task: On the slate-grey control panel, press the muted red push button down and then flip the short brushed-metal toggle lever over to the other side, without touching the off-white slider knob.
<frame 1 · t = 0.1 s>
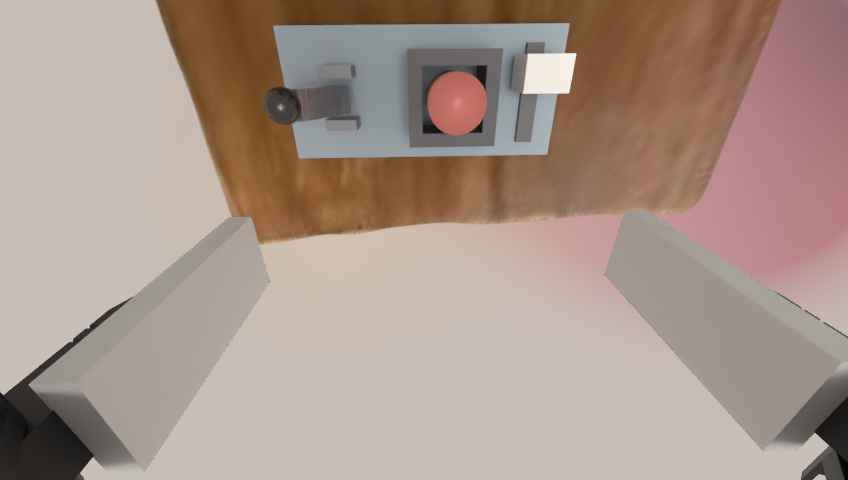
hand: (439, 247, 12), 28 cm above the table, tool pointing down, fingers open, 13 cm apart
lever: (308, 102, 28), point 8 cm above the table, hinge at -30.0°
slider: (540, 73, 29), point 6 cm above the table, slide at 0.0 cm
panel: (422, 93, 35), on the table
button: (453, 101, 28), point 8 cm above the table, slide at 0.0 cm
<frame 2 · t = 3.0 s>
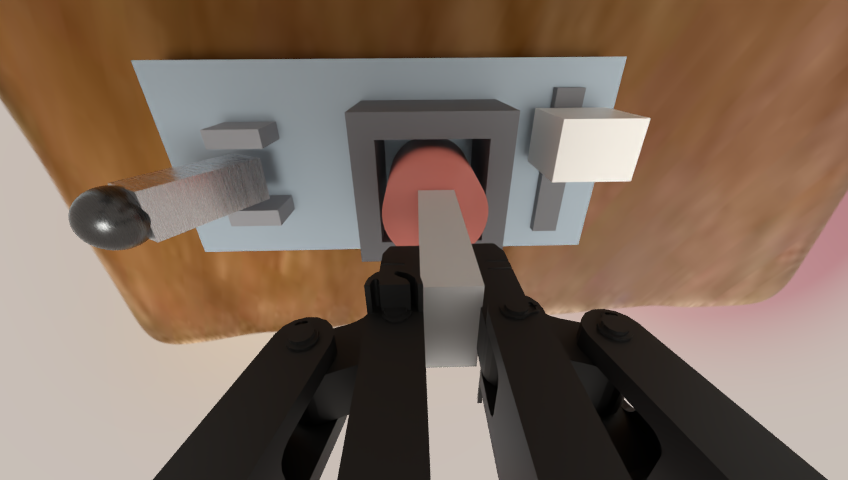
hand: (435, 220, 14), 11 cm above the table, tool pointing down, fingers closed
lever: (179, 198, 16), point 8 cm above the table, hinge at -30.0°
slider: (580, 142, 17), point 6 cm above the table, slide at 0.0 cm
panel: (391, 154, 23), on the table
button: (432, 192, 16), point 8 cm above the table, slide at 0.5 cm, touching gripper
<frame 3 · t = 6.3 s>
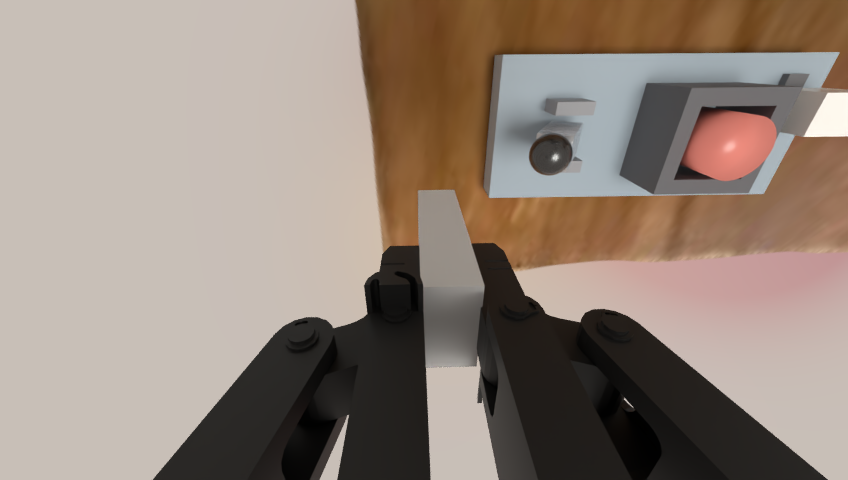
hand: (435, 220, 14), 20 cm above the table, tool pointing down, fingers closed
lever: (556, 146, 24), point 8 cm above the table, hinge at -30.0°
slider: (812, 111, 25), point 6 cm above the table, slide at 0.0 cm
panel: (628, 125, 31), on the table
button: (709, 141, 25), point 7 cm above the table, slide at 1.5 cm
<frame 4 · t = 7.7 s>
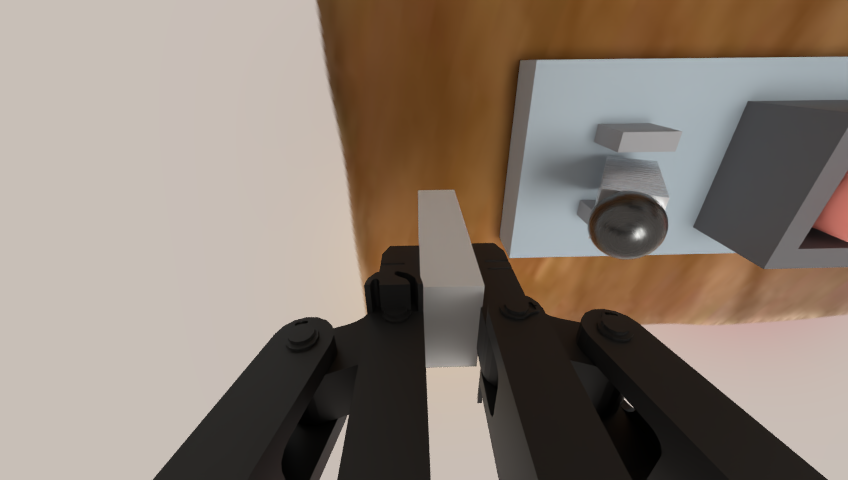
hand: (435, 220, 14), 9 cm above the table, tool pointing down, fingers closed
lever: (625, 203, 15), point 8 cm above the table, hinge at -30.0°
panel: (701, 157, 22), on the table
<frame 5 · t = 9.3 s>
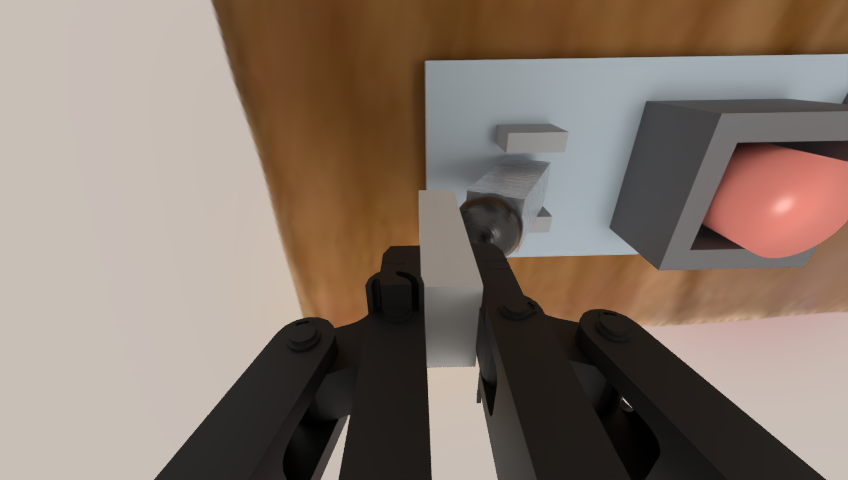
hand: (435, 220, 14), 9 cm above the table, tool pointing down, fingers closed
lever: (505, 205, 15), point 8 cm above the table, hinge at -29.4°, touching gripper
panel: (621, 157, 22), on the table
button: (744, 190, 16), point 7 cm above the table, slide at 1.5 cm
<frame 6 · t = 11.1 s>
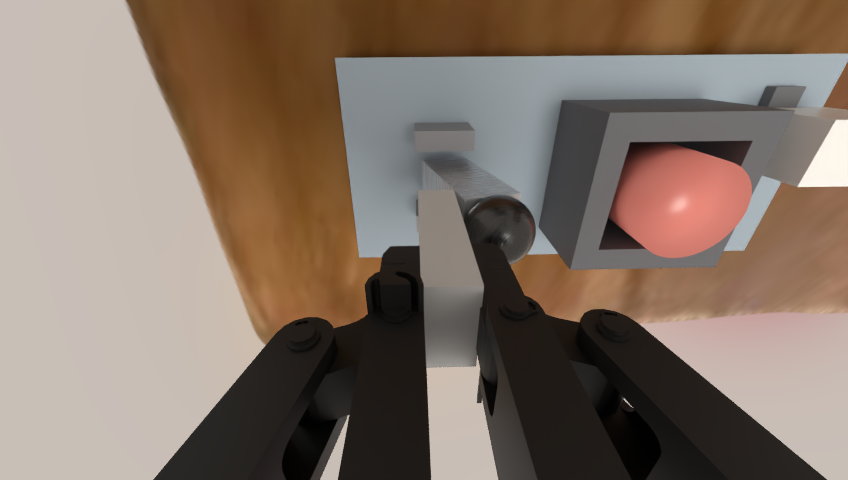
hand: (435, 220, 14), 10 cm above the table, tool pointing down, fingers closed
lever: (471, 205, 15), point 8 cm above the table, hinge at 15.0°, touching gripper
slider: (811, 144, 16), point 6 cm above the table, slide at 0.0 cm
panel: (553, 156, 22), on the table
button: (652, 190, 16), point 7 cm above the table, slide at 1.5 cm
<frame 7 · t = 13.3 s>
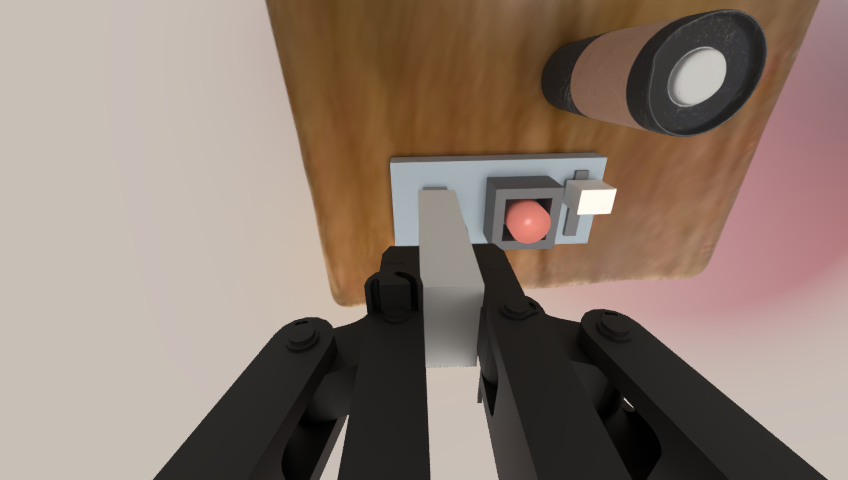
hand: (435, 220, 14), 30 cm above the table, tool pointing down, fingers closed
lever: (446, 224, 38), point 8 cm above the table, hinge at 15.1°
slider: (588, 196, 39), point 6 cm above the table, slide at 0.0 cm
panel: (490, 198, 45), on the table
travel mug: (569, 77, 39), on the table
button: (523, 216, 39), point 7 cm above the table, slide at 1.5 cm
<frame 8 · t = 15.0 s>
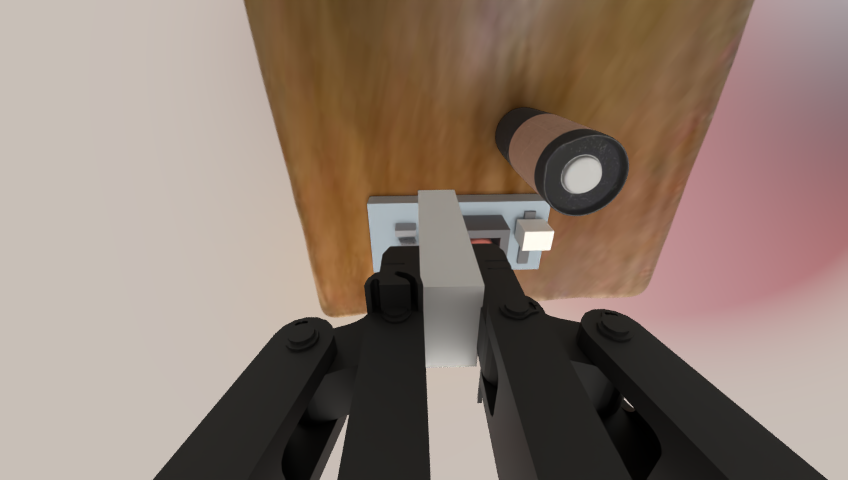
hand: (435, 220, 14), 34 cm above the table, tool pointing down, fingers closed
lever: (413, 257, 45), point 8 cm above the table, hinge at 15.1°
slider: (533, 234, 47), point 6 cm above the table, slide at 0.0 cm
panel: (455, 229, 53), on the table
travel mug: (519, 133, 46), on the table
button: (478, 250, 47), point 7 cm above the table, slide at 1.5 cm
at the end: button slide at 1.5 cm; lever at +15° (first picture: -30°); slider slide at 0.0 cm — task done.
